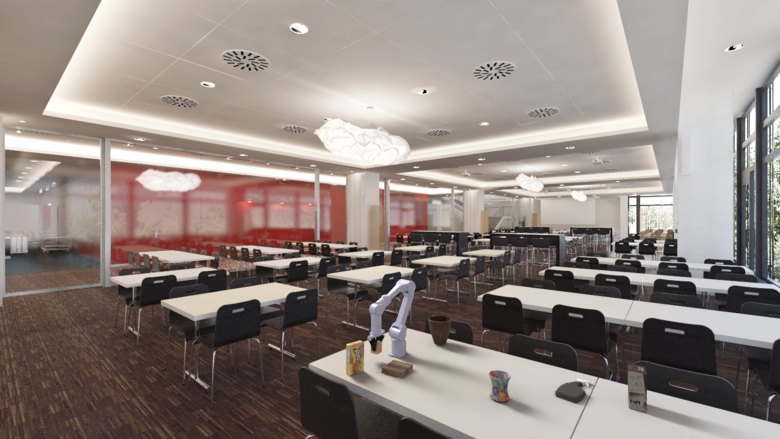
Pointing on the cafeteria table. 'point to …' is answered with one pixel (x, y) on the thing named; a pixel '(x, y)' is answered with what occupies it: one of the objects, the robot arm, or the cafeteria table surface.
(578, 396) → the spray bottle
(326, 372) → the cafeteria table surface
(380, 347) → the terracotta block
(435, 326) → the plant pot
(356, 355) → the candy box
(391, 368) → the walnut base
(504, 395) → the mug
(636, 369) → the coffee box
